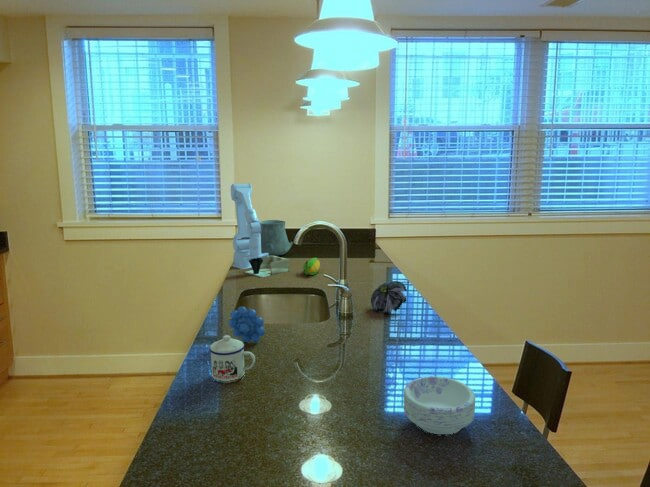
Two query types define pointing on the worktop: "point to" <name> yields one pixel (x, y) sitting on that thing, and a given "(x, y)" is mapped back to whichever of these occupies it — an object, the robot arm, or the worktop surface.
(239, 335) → the blue flower ornament
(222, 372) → the teacup with lid
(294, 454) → the worktop surface
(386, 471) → the worktop surface
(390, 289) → the decorative flower
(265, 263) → the crate
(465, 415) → the paper bowls
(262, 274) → the tailgate
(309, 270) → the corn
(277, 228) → the vessel
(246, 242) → the robot arm
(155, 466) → the worktop surface
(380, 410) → the worktop surface
